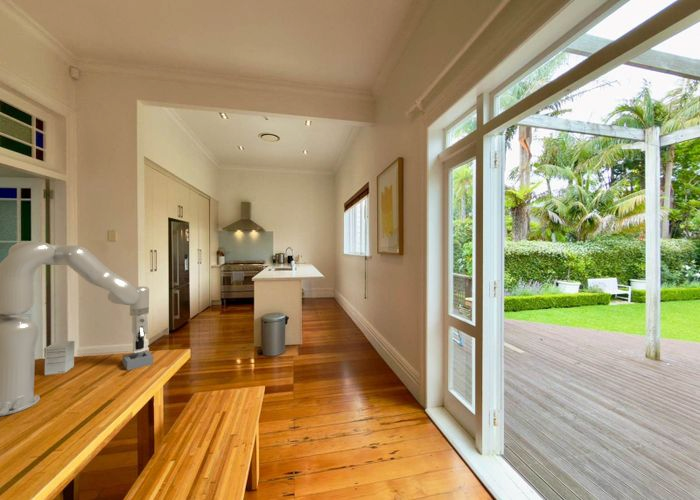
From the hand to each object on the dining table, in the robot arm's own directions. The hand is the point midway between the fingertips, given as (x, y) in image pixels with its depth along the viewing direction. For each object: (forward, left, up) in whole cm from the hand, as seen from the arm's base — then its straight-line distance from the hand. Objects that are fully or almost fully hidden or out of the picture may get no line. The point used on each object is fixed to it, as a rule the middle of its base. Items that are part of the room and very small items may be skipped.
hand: (138, 347), depth 132 cm
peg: (0, 0, -2) cm, 2 cm away
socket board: (0, 0, -8) cm, 8 cm away
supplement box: (+16, +26, -8) cm, 32 cm away
